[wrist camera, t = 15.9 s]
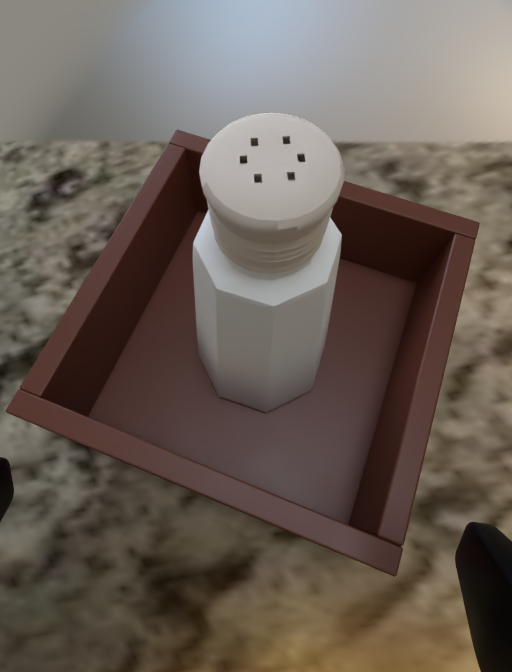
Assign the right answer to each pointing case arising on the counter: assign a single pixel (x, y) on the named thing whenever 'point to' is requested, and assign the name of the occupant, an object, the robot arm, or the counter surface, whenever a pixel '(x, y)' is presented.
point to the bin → (289, 419)
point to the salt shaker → (266, 257)
